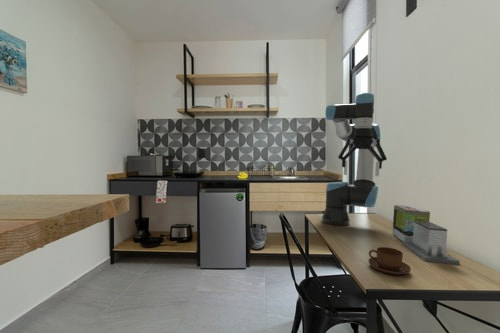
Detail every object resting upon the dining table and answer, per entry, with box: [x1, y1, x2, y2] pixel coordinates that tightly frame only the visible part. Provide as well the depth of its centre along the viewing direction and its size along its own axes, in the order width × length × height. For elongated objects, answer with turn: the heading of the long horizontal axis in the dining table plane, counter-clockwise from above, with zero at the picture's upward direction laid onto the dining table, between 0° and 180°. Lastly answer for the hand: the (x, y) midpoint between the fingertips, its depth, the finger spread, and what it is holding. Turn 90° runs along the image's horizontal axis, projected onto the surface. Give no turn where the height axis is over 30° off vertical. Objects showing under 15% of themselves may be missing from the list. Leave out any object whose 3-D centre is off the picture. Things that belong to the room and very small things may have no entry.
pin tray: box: [402, 236, 460, 265], centre depth 100 cm, size 19×11×4 cm, turn 171°
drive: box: [413, 221, 448, 256], centre depth 100 cm, size 12×6×10 cm, turn 171°
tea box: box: [392, 204, 431, 243], centre depth 119 cm, size 15×10×15 cm
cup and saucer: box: [368, 246, 411, 275], centre depth 84 cm, size 12×12×6 cm
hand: (360, 175), depth 116 cm, fingers open, 13 cm apart
